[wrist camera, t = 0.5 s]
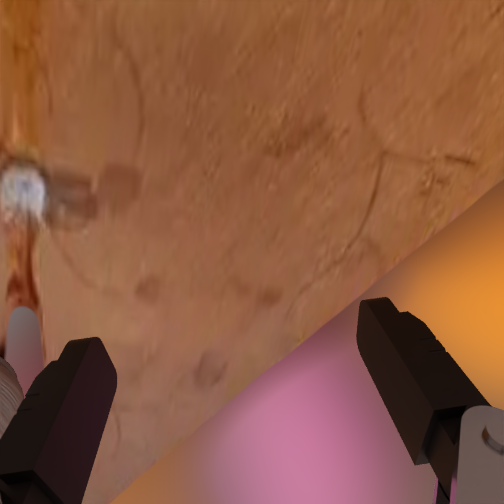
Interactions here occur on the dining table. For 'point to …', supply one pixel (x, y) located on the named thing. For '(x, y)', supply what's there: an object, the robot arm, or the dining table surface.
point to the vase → (8, 395)
